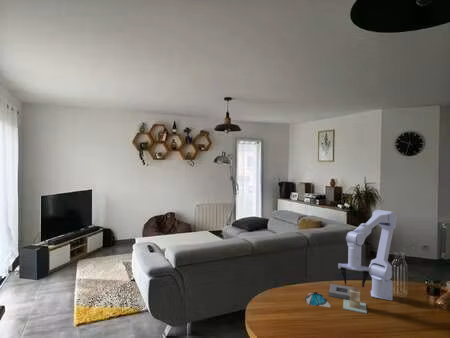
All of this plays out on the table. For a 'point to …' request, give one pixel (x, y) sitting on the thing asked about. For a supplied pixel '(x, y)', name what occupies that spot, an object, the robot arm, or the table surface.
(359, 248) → the robot arm
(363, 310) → the rubber mat
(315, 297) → the decorative butterfly
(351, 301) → the maple block
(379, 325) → the table surface
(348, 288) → the pocket holder
